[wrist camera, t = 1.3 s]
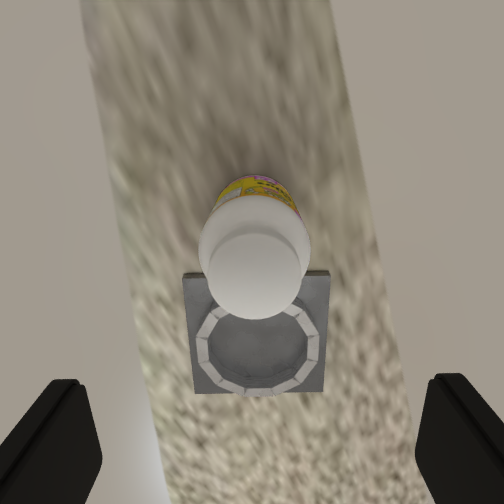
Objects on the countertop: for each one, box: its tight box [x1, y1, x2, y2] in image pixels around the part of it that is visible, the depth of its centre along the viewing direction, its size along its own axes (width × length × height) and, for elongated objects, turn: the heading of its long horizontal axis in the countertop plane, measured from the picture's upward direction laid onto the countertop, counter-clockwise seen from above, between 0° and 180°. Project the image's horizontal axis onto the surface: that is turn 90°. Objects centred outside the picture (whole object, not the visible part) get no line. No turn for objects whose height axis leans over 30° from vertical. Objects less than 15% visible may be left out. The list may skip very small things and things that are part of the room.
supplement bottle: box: [198, 175, 311, 319], centre depth 22 cm, size 7×7×13 cm
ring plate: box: [182, 271, 331, 397], centre depth 32 cm, size 13×13×2 cm
